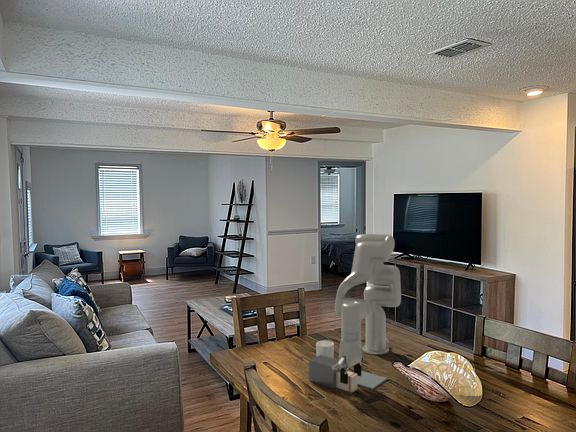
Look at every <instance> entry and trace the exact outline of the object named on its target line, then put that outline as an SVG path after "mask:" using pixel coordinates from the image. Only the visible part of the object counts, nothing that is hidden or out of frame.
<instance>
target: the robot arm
mask: <svg viewBox="0 0 576 432" xmlns="http://www.w3.org/2000/svg"><path fill="white" fill-rule="evenodd" d="M354 242H355V247H354V248H355V249H354V254H353V259H352V265H351V273H350V274H349V275H348V276H346V278H344V280H343V281H342V282H341V283H340V284H339V286H338V288H337V290H336V291H337V292H336V296H335V302H334V311H335V314H336V315H337V316H340V317H341V323H340V324H341V325H340V326H341V329H340V331H341V335H340V336H341V339H340V343H339V349H338V360H339V362H338V364H337V366H338V370H339V372H340V382H341V383H344V384H348V373H347V372H348V371H349V369H350V368H352V367H353V372H354V373H356V374H357V376H361V371H362V368H363V367H362V366H363V360H364V355H365V353H366V354H370V355H378V356H380V355H385V354H387V353H389V351H390V348H389V347H388V346H387V343H389V338H387V337H386V333H387V332H386V331H387V330H386V328H387V327H386V321H387V319H386V317H387V316H386V313H385V310H384V309H383V308H382V307H388V308H398V307H400V305H401V302H402V289H401V287H402V286H401V272H400V269H399V267H397V266H395V265H390V264H388V265H387V264H384V263H386V262H388V261H389V260H390V258H391V255H392V254H393V251H394V249H395V246H396V245H395V244H396V243H395V238H394V237H393V235H391V234H377V233H361V234H358V235H356V237H355V241H354ZM363 283H368V284H370V285H367V286H366V287H365V288H364V289H363V290H364V291H363V299H362V298H354V297H345V296H346V294H347V292H348V291H349V290H350V289H352V288H353V287H355V286H358V285H361V284H363ZM364 319H365V344H364V345H362V320H364ZM344 364H345V365H344ZM344 367H345V369H344Z"/></svg>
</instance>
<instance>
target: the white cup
mask: <svg viewBox="0 0 576 432" xmlns="http://www.w3.org/2000/svg"><path fill="white" fill-rule="evenodd" d="M334 348H335V343H334V342H333V341H330V340H318V341H317V342H315V350H316V357H317V356H319V355H323V356H326V357H330V358H333V359H334V352H335V351H334V350H335V349H334Z"/></svg>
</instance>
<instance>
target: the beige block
mask: <svg viewBox="0 0 576 432" xmlns="http://www.w3.org/2000/svg"><path fill="white" fill-rule="evenodd" d="M353 372H354V371H353ZM353 372H352V371H350V370H348V372H347V373H348V384H344V383H341V382H340V372H339V370H337V371H336V388H337V389H339V390H343V391H346V392H348V393H353V392H355V391H357V390H358V385H357V374H356V373H353Z"/></svg>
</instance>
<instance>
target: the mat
mask: <svg viewBox="0 0 576 432" xmlns="http://www.w3.org/2000/svg"><path fill="white" fill-rule="evenodd" d="M353 373H354V371H353ZM387 380H388V377H384V376H382V375H381V376H380V375H378V374H374V373H371V372H366V371H364V370H361V376H357V386H360V387H363V388H366V389H368V390H369V389H370V390H371V391H372V390H375V389H376V388H377V387H378V386H380V385H381V384H383V383H384V382H386V381H387Z"/></svg>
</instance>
